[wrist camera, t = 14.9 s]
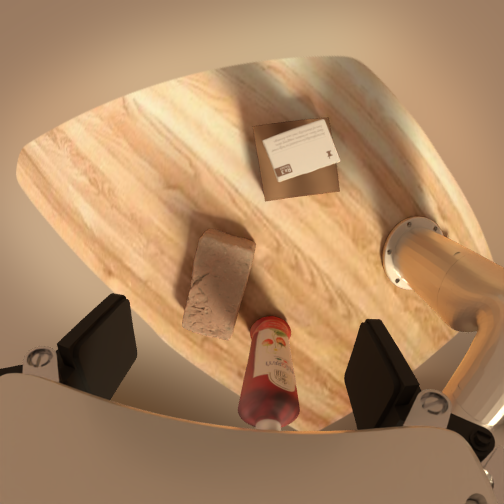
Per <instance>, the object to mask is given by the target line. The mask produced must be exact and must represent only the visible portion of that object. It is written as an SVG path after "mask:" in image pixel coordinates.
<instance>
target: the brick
mask: <svg viewBox="0 0 504 504" xmlns="http://www.w3.org/2000/svg"><path fill="white" fill-rule="evenodd" d="M255 247H256V244H255V242H253V241H251V240H248V239H247V238H240V237H236V236H233V235H229V234H228V233H224V232H223V231H220V230H216V229H208V230H207V231H205V232H204V233H203V236H202V237H200V239H199V242H198V247H197V250H196V254H195V258H194V264H193V271H192V279H191V286H190V290H189V294H188V298H187V301H186V303H187V304H186V306H185V311H184V316H183V322H182V327H183V328H185V329H187V330H190V331H192V332H194V333H198V334H202V335H205V336H208V337H215V338H220V339H223V340H229V339H230V338H231V336H232V334H233V330H234V326H235V323H236V319H237V316H238V312H239V309H240V305H241V301H242V298H243V295H244V292H245V288H246V285H247V281H248V277H249V273H250V269H251V266H252V262H253V258H254V252H255Z"/></svg>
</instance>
